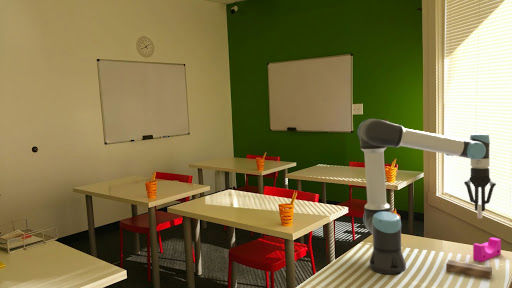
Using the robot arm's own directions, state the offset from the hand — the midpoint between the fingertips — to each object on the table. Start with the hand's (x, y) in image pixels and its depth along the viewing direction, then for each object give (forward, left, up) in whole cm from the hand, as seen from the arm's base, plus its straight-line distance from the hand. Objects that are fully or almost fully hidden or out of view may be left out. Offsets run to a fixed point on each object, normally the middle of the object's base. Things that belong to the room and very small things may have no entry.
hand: (479, 217), depth 186 cm
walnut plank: (0, -28, -16) cm, 32 cm away
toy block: (+2, -5, -17) cm, 18 cm away
